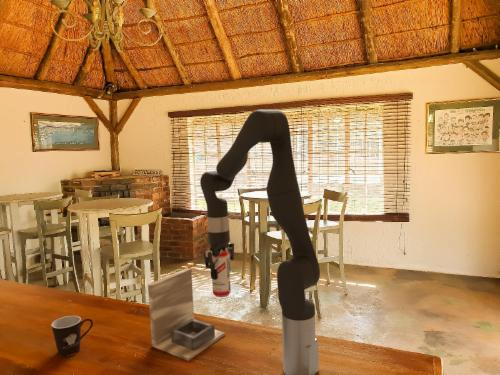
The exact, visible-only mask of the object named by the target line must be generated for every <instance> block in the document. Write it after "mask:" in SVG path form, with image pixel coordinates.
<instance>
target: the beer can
mask: <svg viewBox="0 0 500 375" xmlns="http://www.w3.org/2000/svg"><path fill="white" fill-rule="evenodd" d="M218 253H219V252H218ZM217 256H218V255H217ZM217 256H212V259H215V260H216V259H217ZM214 264H215V262H213V265H214ZM217 273H218V279H216V280H214V279H212V278H211V282H212V283H211V284H212V287H211V288H212V295H214V296H215V297H217V298H225V297H228V296H229V295H231V291H232V290H231V289H232V288H231V267H230V268H229V254H228V252H227V250H226V251H223V252H221V254H220V255H219V263H218V266H217Z"/></svg>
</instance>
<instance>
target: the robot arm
mask: <svg viewBox="0 0 500 375" xmlns="http://www.w3.org/2000/svg"><path fill="white" fill-rule="evenodd" d="M290 129H291V128H290V124H289V121H288V117H287V116H286V114H285V113H284V112H283V111H282V110H280V109H262V108H261V109H256V110H253V111H252V112H251V113H250V114H249V115H248V117H247V118H246V119H245V121H244V123H243V125H242V127H241V129H240V130H239V132H238V134H237V136H236V138H235V140H234V141H233V143H232V145H231V147H230V148H229V150H227V152H226V153H225V154H224V155H223V156H222V157H221V159H220V160H219V162H217V165H216V167H215V170H214V171H212V170H211V171H206V172H203V173H202V175H201V177H200V179H199V182H200V183H199V184H200V188H201V189H200V190H201V191H202V193H203V197H204V200H205V203H206V213H207V221H206V224H207V226H206V228H207V242H208V244H209V245H210V248H209V250H208V251H206V250H204V251H203V257H204V263H205V264H204V265H205V268H206V269H210V278H211V280H212V279H214V280H216V279H218V273H217V266H218V263H219V255H220V254H221V252H223V251H226V250H227V252H228V254H229V268H230V269H231V263H232V261H234V259H235V243H233V242H231V237H230V236H231V235H230V234H231V233H230V220H229V211H228V200H226V199H225V198H222V197H217V196H218V195H217V192H224V191H225V192H226V191H227V190H228V189H230V188H231V187H232V185H233V182H234V180H235V179H236V176H237V175H238V174H239V173H240V172H241V171H242V170H243V169H244V167H245V166H246V164H247V162H248V157H249V152H250V150H251V149H253V148H254V147H256V145H258V144H259V143H261V144H262V143H269V144H270V145H269V146H270V149H271V155H272V166H271V170H270V172H269V176H268V180H267V185H266V196H267V200H268V206H269V211H270V213H271V215H272V217H273V219H274V221H275V222H276V223H277V225H278V226H279V227H280V229H282V232H284V234H285V236H286V237H287V239H288V242H289V245H290V247H291V248H290V249H291V253H292V257H289V258H288V259H285V260H283V261H281V262H280V264H279V265H278V267H277V271H276V280H277V281H276V282H277V296H278V303H279V306H280V308H281V327H282V328H281V330H282V331H281V332H282V336H281V337H282V366H283V368H282V369H283V373H284V375H316V374H317V373H318V371H320V370H319V369H320V368H319V367H320V366H319V360H320V359H319V339H318V338H316V306H315V303H314V302H313V301H312V300H310V299H308V298H306V290H307V289H309V288H312V287H314V286H315V285H316V284H318V282H319V280H320V277H321V271H320V264H319V261H318V258H317V255H316V250H315V248H314V245H313V242H312V239H311V235H310V231H309V228H308V223H307V219H306V215H305V210H304V206H303V199H302V194H301V189H300V186H299V182H298V177H297V172H296V167H295V166H296V165H295V162H294V155H293V148H292V139H291V131H290ZM218 252H219V253H218ZM217 255H218V256H217ZM212 256H217V259H216V260H215V259H212ZM213 262H215V264H214V265H213Z"/></svg>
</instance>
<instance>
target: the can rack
mask: <svg viewBox="0 0 500 375" xmlns="http://www.w3.org/2000/svg"><path fill="white" fill-rule="evenodd" d="M192 274H193V273H192V268H188V267H187V268H184V269H181V270H180V271H177V272H175V273H173V274H170V275H167V276H165V277H162V278H160V279H158V280H156V281H153V282H151V283H147V290H148V292H147V293H148V305H149V308H148V309H149V321H150V333H151V334H150V335H151V336H150V337H151V347H152V348H155V349H158V350H160V351H162V352H166V353H167V354H170V355H172V356H174V357H178V358H180V359H182V360H185V361H187V362H189V361H191V360H192V359H193V358H194V357H196V356H198V355H199V354H201V353H202V352H203V351H204V350H206V349H207V348H209V347H210V346H212V345H214V344H215V343H217V342H218V341H219V340H221V339H222V338H224V337H225V336H226V332H224V331H221V330H217V329H215V325H214V324H211V323H207V322H204V321H202V320H198V319H195V314H194V313H195V312H194V311H195V309H194V295H193V292H194V290H193V275H192Z"/></svg>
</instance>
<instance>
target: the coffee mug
mask: <svg viewBox="0 0 500 375" xmlns="http://www.w3.org/2000/svg"><path fill="white" fill-rule="evenodd" d="M87 321H89V322H90V326H89V327H88V329H87V330H86V331H85V332H84V333H83V334H82V335H81V331H82V328H81V327H82V326H83V324H84V323H85V322H87ZM93 325H94V321H93V320H92V319H90V318H85V319H83V320H82V318H81V316H78V315H68V316H63V317H60V318H57V319H55V320H54V321H53V322H51V325H50V326H51V329H52V333H53V334H52V335H53V337H54V342H55V346H56V350H57V354H58V356H59V355H61V356H60V357H62V356H67V355H71V354H74V353H76V352H77V353H78V351H79V352H80V350H81V340H82V339H83V338H84V337H85V336H86V335H87V334H88V333H89V332H90V331H91V329H92V327H93ZM77 353H76V354H77ZM74 355H75V354H74ZM71 356H72V355H71ZM67 357H68V356H67Z"/></svg>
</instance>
